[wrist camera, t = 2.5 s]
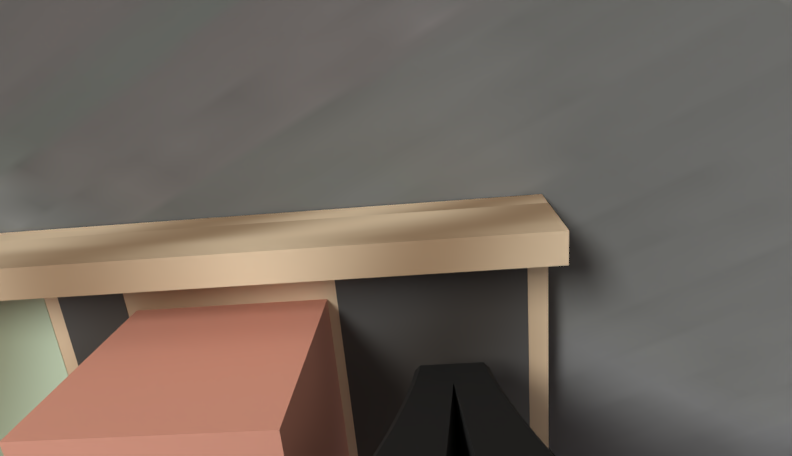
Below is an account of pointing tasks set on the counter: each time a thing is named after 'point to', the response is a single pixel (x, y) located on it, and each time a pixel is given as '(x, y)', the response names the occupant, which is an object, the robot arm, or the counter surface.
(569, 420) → the counter surface
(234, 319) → the red block
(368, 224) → the box
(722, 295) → the counter surface
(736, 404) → the counter surface
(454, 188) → the counter surface
